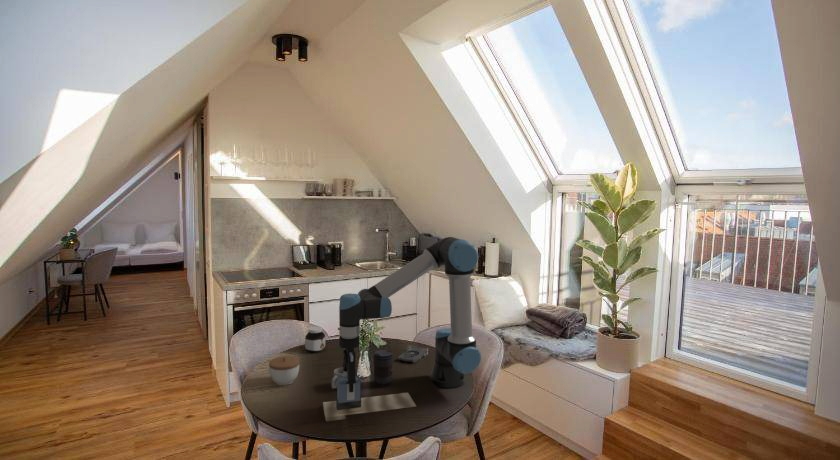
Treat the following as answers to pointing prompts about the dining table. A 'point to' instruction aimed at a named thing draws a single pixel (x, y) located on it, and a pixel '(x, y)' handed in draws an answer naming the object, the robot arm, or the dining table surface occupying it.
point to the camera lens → (383, 368)
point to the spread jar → (315, 340)
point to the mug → (337, 373)
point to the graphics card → (413, 354)
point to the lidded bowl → (284, 369)
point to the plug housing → (343, 389)
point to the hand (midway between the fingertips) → (348, 393)
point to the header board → (366, 405)
